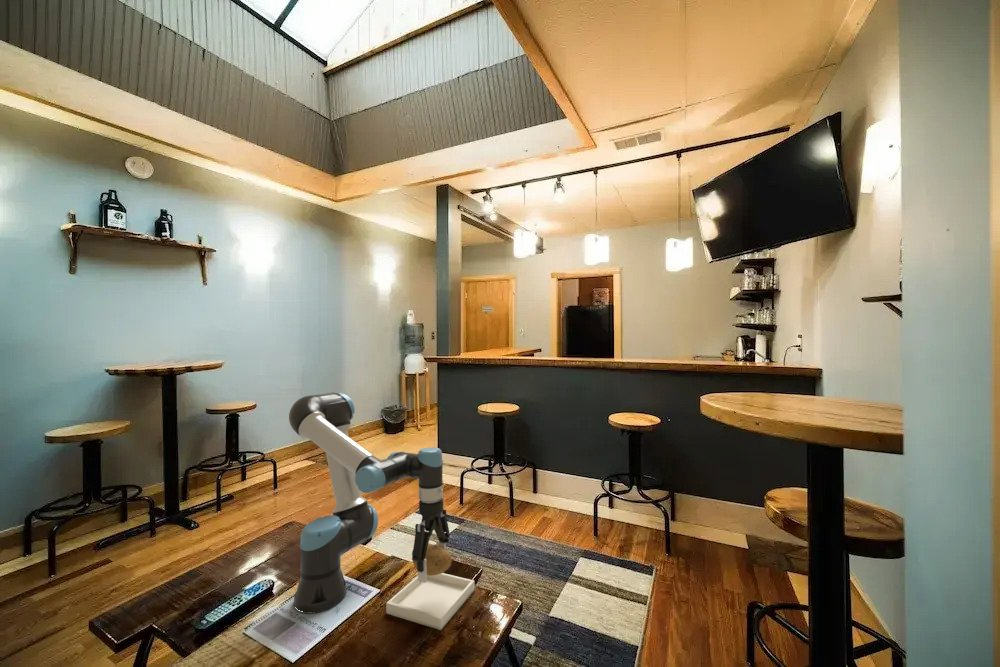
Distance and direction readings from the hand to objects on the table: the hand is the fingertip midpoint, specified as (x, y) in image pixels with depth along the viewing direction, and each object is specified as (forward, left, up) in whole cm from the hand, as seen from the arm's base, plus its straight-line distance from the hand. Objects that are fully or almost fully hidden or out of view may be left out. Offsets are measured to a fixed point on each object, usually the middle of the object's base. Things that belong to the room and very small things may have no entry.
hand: (432, 572), depth 122 cm
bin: (0, 0, -9) cm, 9 cm away
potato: (0, 0, 0) cm, 0 cm away
